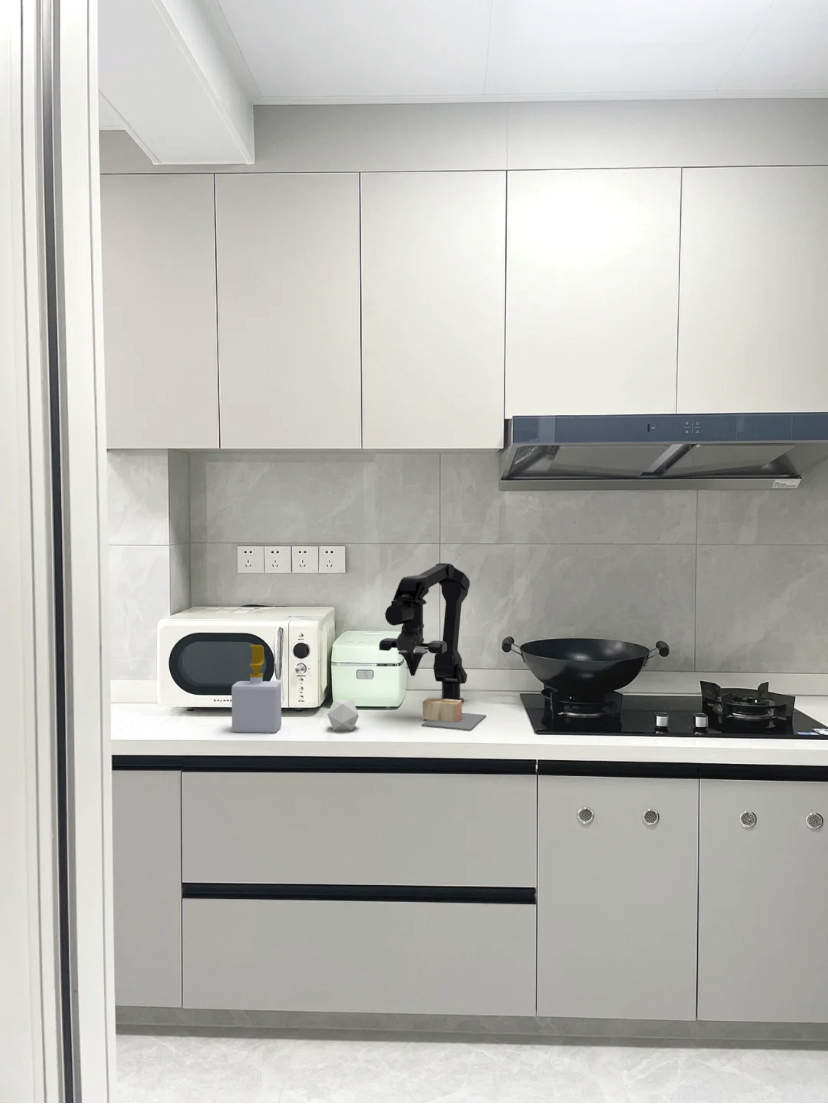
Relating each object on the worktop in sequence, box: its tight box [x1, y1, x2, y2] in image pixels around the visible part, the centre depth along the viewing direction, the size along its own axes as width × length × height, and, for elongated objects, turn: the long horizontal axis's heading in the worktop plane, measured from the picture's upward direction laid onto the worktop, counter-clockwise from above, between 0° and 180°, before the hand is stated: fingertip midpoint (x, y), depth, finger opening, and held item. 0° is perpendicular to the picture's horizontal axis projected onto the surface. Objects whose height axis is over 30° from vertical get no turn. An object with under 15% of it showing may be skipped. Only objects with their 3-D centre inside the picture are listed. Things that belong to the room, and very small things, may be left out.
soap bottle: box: [231, 644, 282, 734], centre depth 223 cm, size 12×7×23 cm, turn 87°
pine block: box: [422, 697, 463, 722], centre depth 234 cm, size 5×5×10 cm
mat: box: [421, 712, 487, 732], centre depth 232 cm, size 16×14×1 cm
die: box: [327, 699, 360, 732], centre depth 224 cm, size 8×9×10 cm
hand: (412, 675), depth 236 cm, fingers closed
